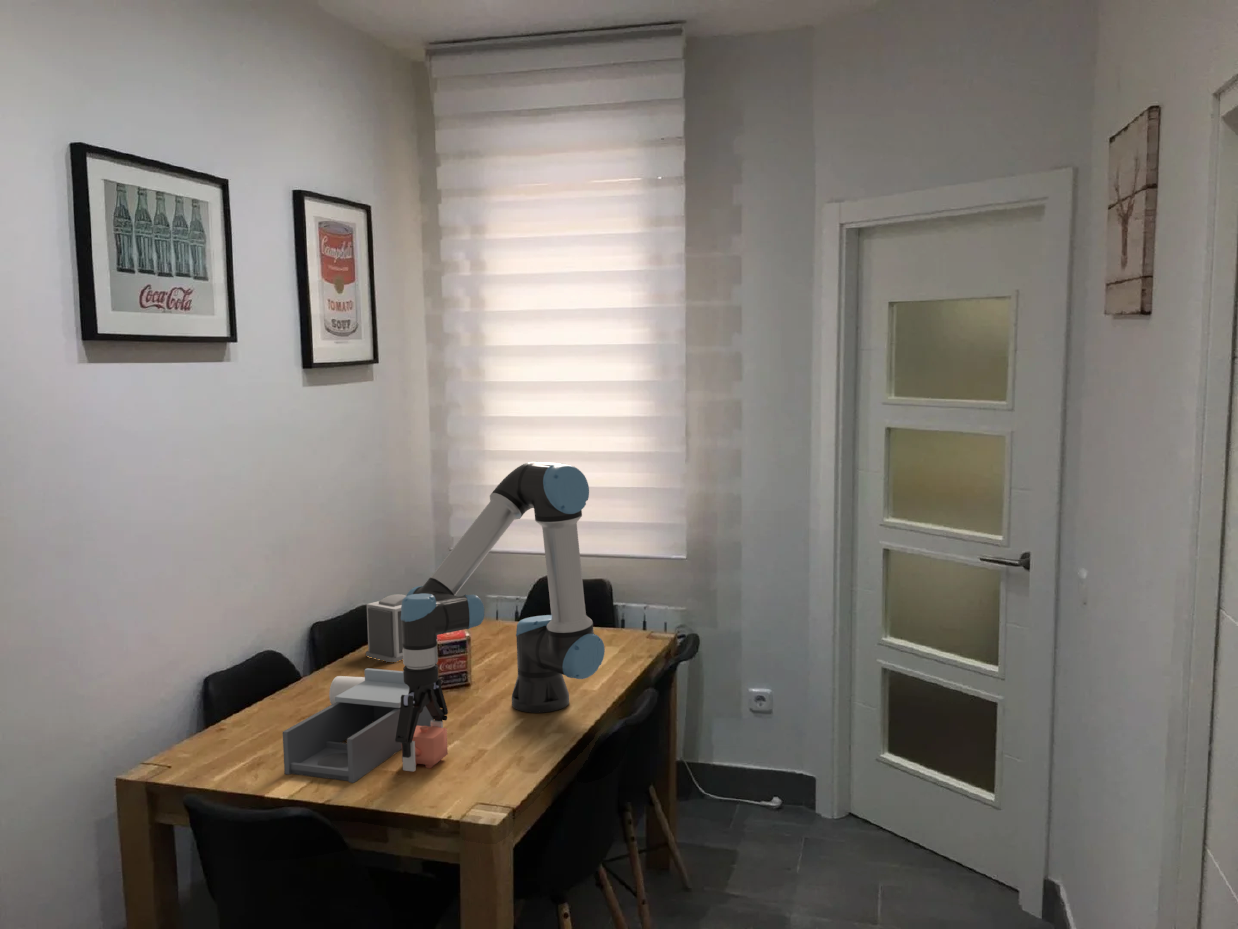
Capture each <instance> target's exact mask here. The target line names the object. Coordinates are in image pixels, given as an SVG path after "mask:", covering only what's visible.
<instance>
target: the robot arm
mask: <svg viewBox="0 0 1238 929" xmlns="http://www.w3.org/2000/svg"><path fill="white" fill-rule="evenodd" d="M589 498H590V486H589V482H588V480H587V477H586V475H585V474H584V473H583V472H582V471H581V470H580V469H579V468H577V467H575V466H573V465H570V464H569V465H568V464H566V463H561V462H560V463H559V462H557V463H556V462H543V461H528V462H525V463H523V464H521V465H519V466H518V467H516V468H514V469H513V470H512V471H511V472H509V473H508V474H507V475H506V476H505V477H504V478H503V479H502V480H501V482H499V484H497V486H496V487H495V489H494V490H493V491H492V492H491V493H490V495H489V502H488V503H487V505H486V506H485V508H484V509H483V510H482V511H481V512H480V514H479V515H478V516H477V517H476V519H475V520H474V521H473V523H471V525H470V526H469V528H468V529H467V530H466V532H464V533H463V535H462V537H461V538H459V540H458V541H457V543H456V544H455V545H454V547H452V549H451V550H450V552H449V553H448V554H447V556H445V558H444V559H443V560H442V562H441V563H440V564H439V566H438V567H437V568H436V569H435V571H434V572H433V573H432V574H431V575H430V577H429V578H428V580H426V582H424V584H423V585H420V586H419V585H418V586H415V587H413V588H411V589H410V590H408V592H407V593H406V594H405V595H406V597H405V598H403V600H402V606H401V621H402V643H403V650H402V652H403V662H402V664H403V665H404V666H403V670H402V671H403V674H404V683H405V684H407V685H408V686H409V693H408V695H402V696H401V708H400V714H399V720H398V726H397V732H396V738H395V741H396V742H400V743H402V749H401V758H402V757H403V762H402V770H403V771H404V772H405V771H407V772H416V769H417V765H416V762H415V741H412V740H413V736H414V733H415V729H416V725H417V722H418V718H419V715H420V713H421V712H422V711H423V708H424V707H425V706H426V707H427V709H428V711H429V713H430V715H431V717H432V718H433V719H434V720H432V721H431V727H432V726H437V727H440V728H444V726H443V725H444V723H443V721H445V722H446V721H447V720H448V714H449V710H448V707H447V703H446V700H445V696H444V693H443V688H442V680H441V678H439V665H438V664H437V663H438V661H439V660H438V659H439V658H438V657H439V656H438V635H439V636H440V635H443V634H449V633H453V632H454V633H455V632H458V631H459V632H460V631H463V630H470V629H472V628H476V627H478V626H480V625H481V624H482V623H483V621H484V619H485V606H484V603H483V601H482V599H481V598H480V597H479V596H478V595H476V594H464V595H458V596H456V595H457V594H458V593H459V591H460V590H461V588H462V587H463V586H464V584H466V582H467V581H468V580H469V578H470V577H471V576H472V575H473V574H474V572H475V571H476V570H477V568H478V567H479V566H480V565H481V563H482V562H483V561H484V559H485V558H486V557H487V555H488V554H489V553H490V551H491V550H492V549H493V548H494V547H495V545H496V544H497V543H498V541H499V540H500V538H501V537H503V535H504V534H505V532H506V530H508V528H509V527H510V526H511V525H512V523H513V522H514V521H515V520H520V519H521V518H522V517H523V516H524V514H525V513H526V512H527V511H529V510H532V509H533V511H534V521H535V522H536V523H537V524H539V525H540V526H541V528H542V538H543V546H544V548H543V549H544V556H545V557H544V558H545V566H546V575H547V577H546V578H547V586H548V592H549V593H548V594H549V604H550V614H546V615H545V614H544V615H543V614H542V615H536V616H530V617H529V616H528V617H525V618H523V619H520V620H519V621H518V623H517V624H516V631H515V632H516V633H515V637H516V638H515V639H516V660H517V663H516V664H517V678H516V679H515V684H514V688H513V691H512V694H511V706H512V707H513V708H514V709H515V710H516V711H521V712H525V713H533V714H534V713H536V714H537V713H549V712H550V713H551V712H554V711H559V710H562V709H564V708H566V707H567V706H569V704H570V693H569V691H568V690H569V689H568V687H567V684H566V681H565V678H564V676H565V677H567V678H569V679H576V680H577V679H578V680H585V679H587V678H589V677H591V676H593V675H595V673H596V672H597V671H598V670H599V668H600V666H601V665H602V662H604V659H605V658H604V657H605V643H604V641H603V639H602V638H600V636H598V634H595V631H594V622H593V620H592V619H591V618H590V617H589V616H588V615H587V613H586V612H587V611H586V603H585V594H584V593H585V592H584V591H585V590H584V582H583V581H584V580H583V574H582V573H583V572H582V562H581V554H580V552H581V551H580V545H579V534H578V521H579V520H580V519H582V517H583V510H584V508H585V506H586V505H587V501H588V500H589ZM413 706H414V707H413Z"/></svg>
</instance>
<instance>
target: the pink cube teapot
mask: <svg viewBox="0 0 1238 929" xmlns="http://www.w3.org/2000/svg"><path fill="white" fill-rule="evenodd" d="M412 741H415V762H416V766H418V765H425V766H424V767H425V768H426V769H432V768H434V766H436V765H437V764H438V763H439V762H441V761H442V759H443V758H445V757H446V756H447V755H448V754H449V753H448V752H449V751H448V729H447V727H443V728H440V727H437V726H432V727H429V726H417V725H416V729H415V733H414V736H413V740H412ZM401 763H403V757H402V756H401Z"/></svg>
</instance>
